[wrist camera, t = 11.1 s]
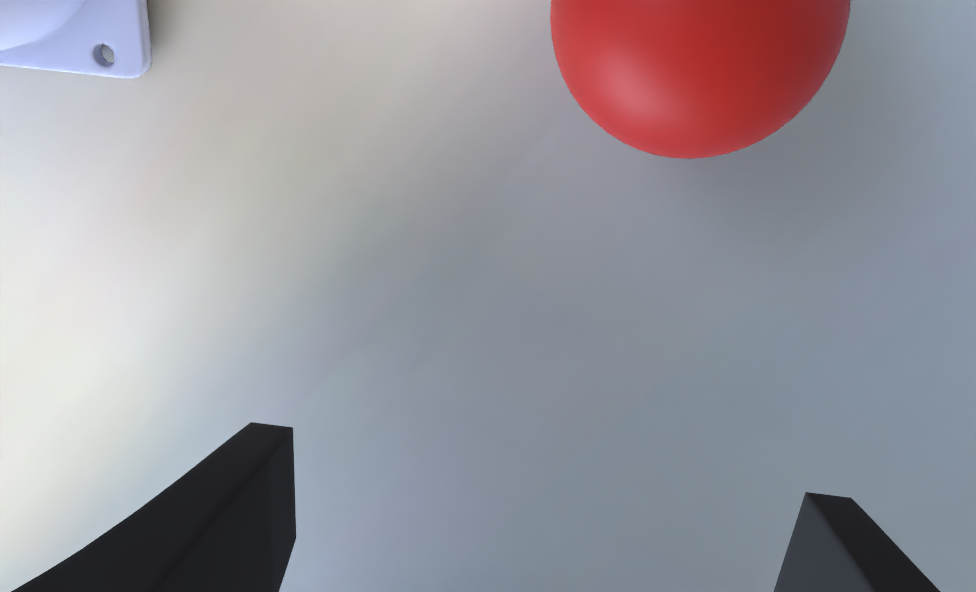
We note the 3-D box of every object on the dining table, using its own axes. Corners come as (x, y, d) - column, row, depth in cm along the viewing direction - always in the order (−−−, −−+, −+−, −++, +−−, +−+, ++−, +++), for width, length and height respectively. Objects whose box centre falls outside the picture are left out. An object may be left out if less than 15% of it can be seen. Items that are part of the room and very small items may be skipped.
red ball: (541, 103, 20) (529, 180, 15) (570, -156, 17) (567, -173, 12) (773, 128, 19) (840, 214, 14) (836, -133, 17) (943, -138, 12)
